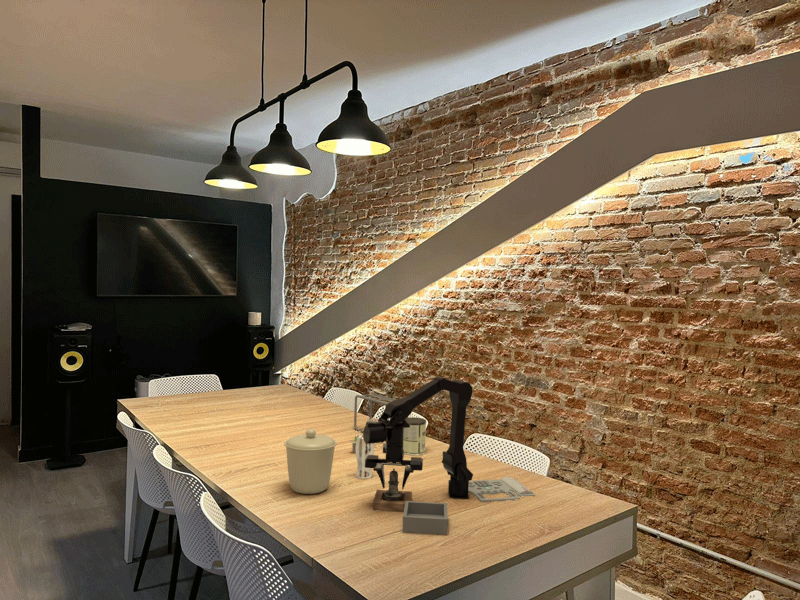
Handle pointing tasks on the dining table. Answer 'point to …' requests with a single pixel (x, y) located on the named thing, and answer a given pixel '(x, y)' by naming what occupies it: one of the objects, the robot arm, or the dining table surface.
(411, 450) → the coffee can
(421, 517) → the bin
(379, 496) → the socket block
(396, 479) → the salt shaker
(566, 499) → the dining table surface
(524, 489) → the grey cutout plate
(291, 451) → the canister
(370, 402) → the newton's cradle
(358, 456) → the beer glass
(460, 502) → the dining table surface
